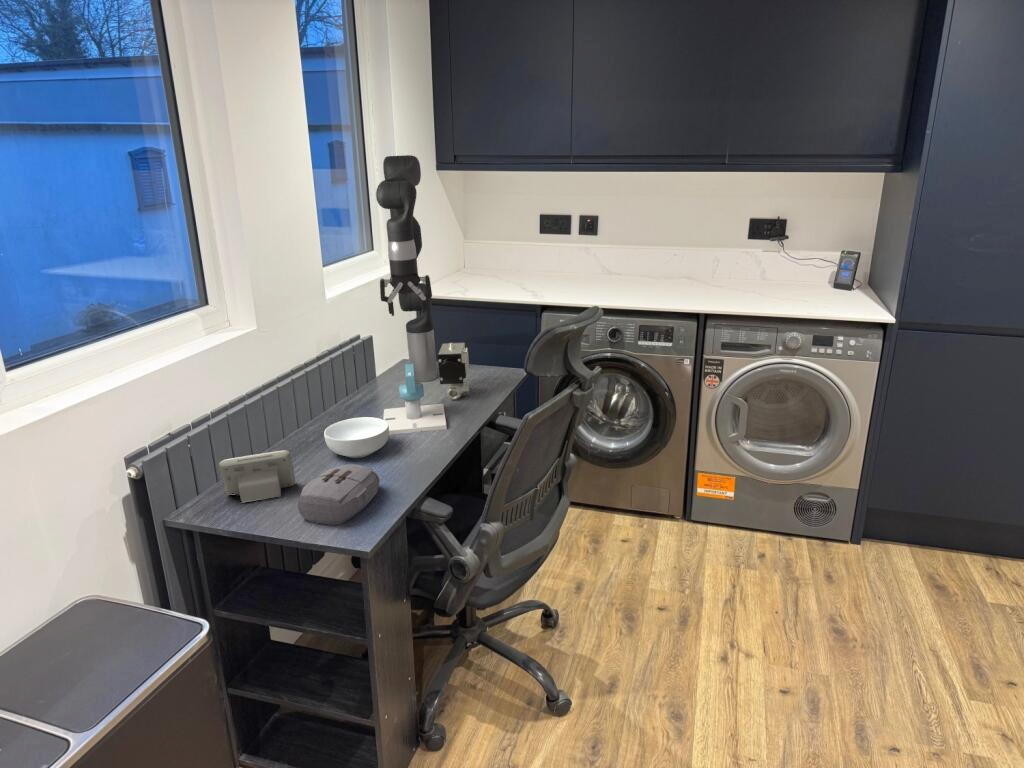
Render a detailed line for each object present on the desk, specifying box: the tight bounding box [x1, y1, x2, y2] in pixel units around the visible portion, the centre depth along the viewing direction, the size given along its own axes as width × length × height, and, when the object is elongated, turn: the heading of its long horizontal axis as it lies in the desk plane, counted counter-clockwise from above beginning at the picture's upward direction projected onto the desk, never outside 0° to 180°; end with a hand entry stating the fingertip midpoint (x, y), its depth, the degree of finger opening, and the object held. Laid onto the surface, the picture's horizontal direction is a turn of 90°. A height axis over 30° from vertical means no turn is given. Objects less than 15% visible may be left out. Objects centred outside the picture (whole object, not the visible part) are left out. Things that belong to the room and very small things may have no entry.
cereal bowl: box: [323, 416, 390, 459], centre depth 190 cm, size 17×17×7 cm
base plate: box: [382, 398, 448, 436], centre depth 210 cm, size 18×18×8 cm
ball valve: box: [437, 341, 471, 401], centre depth 227 cm, size 18×8×18 cm, turn 179°
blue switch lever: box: [398, 363, 425, 401], centre depth 207 cm, size 12×7×8 cm, turn 8°
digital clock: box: [218, 450, 296, 501], centre depth 169 cm, size 16×9×11 cm, turn 95°
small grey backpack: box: [297, 464, 380, 526], centre depth 163 cm, size 15×8×20 cm
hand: (408, 313), depth 201 cm, fingers open, 8 cm apart
